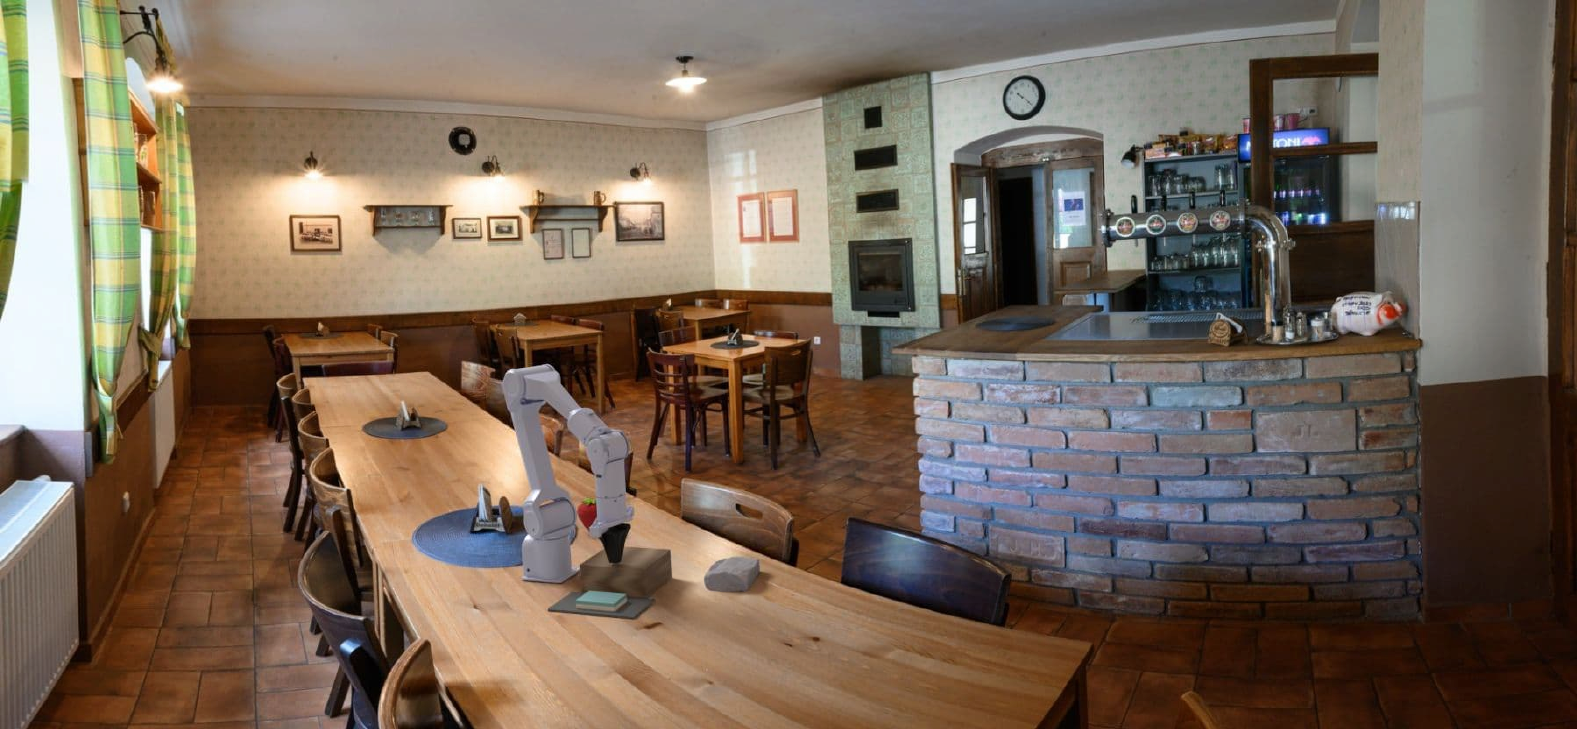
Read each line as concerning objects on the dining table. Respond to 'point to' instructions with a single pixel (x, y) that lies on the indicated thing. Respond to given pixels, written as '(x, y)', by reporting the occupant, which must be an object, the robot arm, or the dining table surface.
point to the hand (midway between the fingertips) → (615, 562)
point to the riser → (627, 572)
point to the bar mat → (625, 611)
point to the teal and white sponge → (601, 601)
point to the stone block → (732, 574)
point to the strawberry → (587, 512)
